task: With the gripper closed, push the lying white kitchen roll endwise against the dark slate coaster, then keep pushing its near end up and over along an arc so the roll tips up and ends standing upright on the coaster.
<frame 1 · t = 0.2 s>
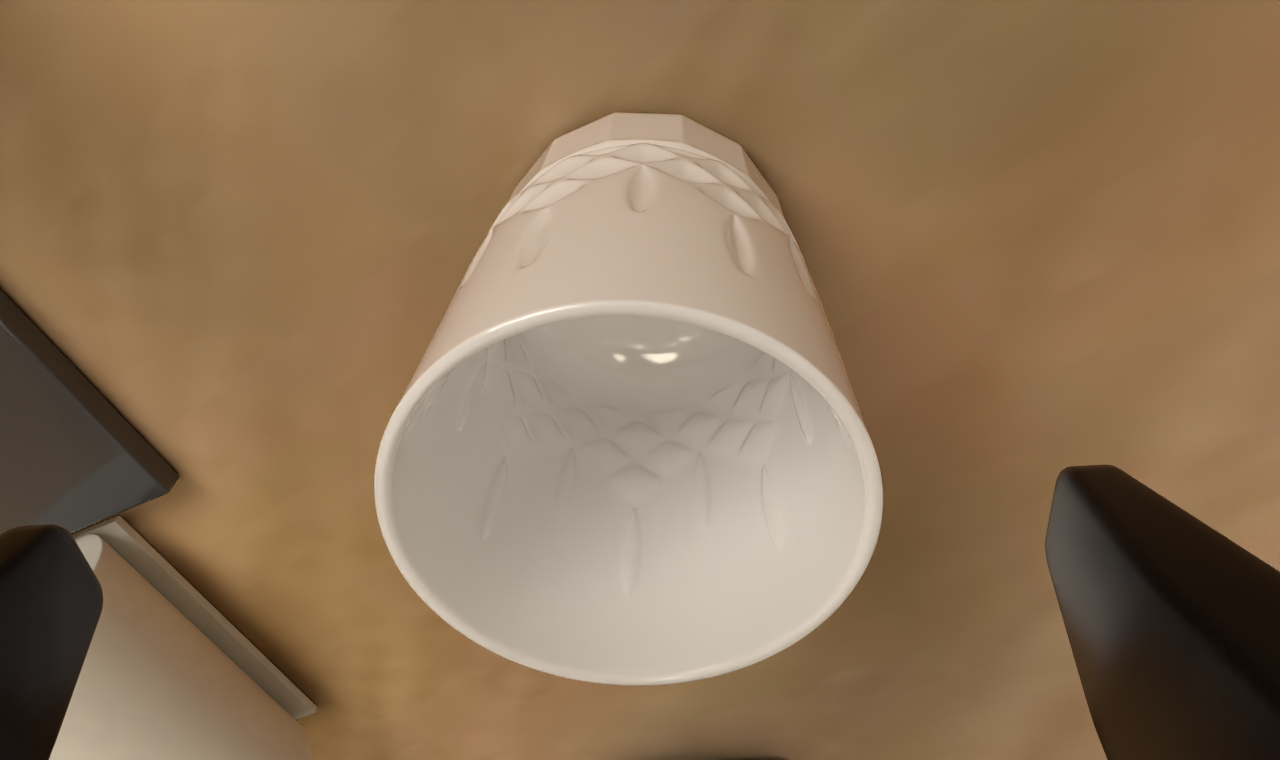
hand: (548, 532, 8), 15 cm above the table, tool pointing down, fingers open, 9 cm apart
white cup: (644, 240, 23), on the table
kitchen roll: (130, 715, 29), point 3 cm above the table
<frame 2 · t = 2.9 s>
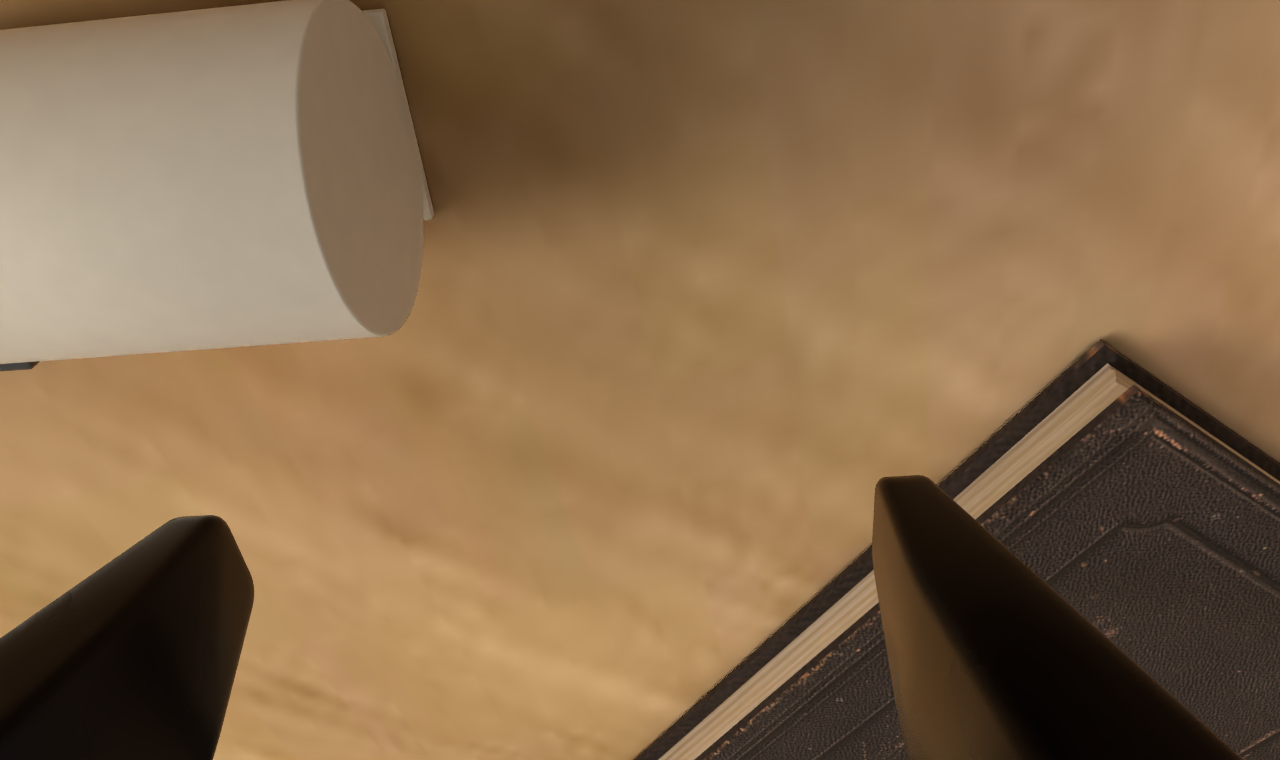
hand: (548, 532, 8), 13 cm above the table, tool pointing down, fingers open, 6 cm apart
kitchen roll: (112, 194, 17), point 3 cm above the table
hardcover book: (990, 708, 30), on the table
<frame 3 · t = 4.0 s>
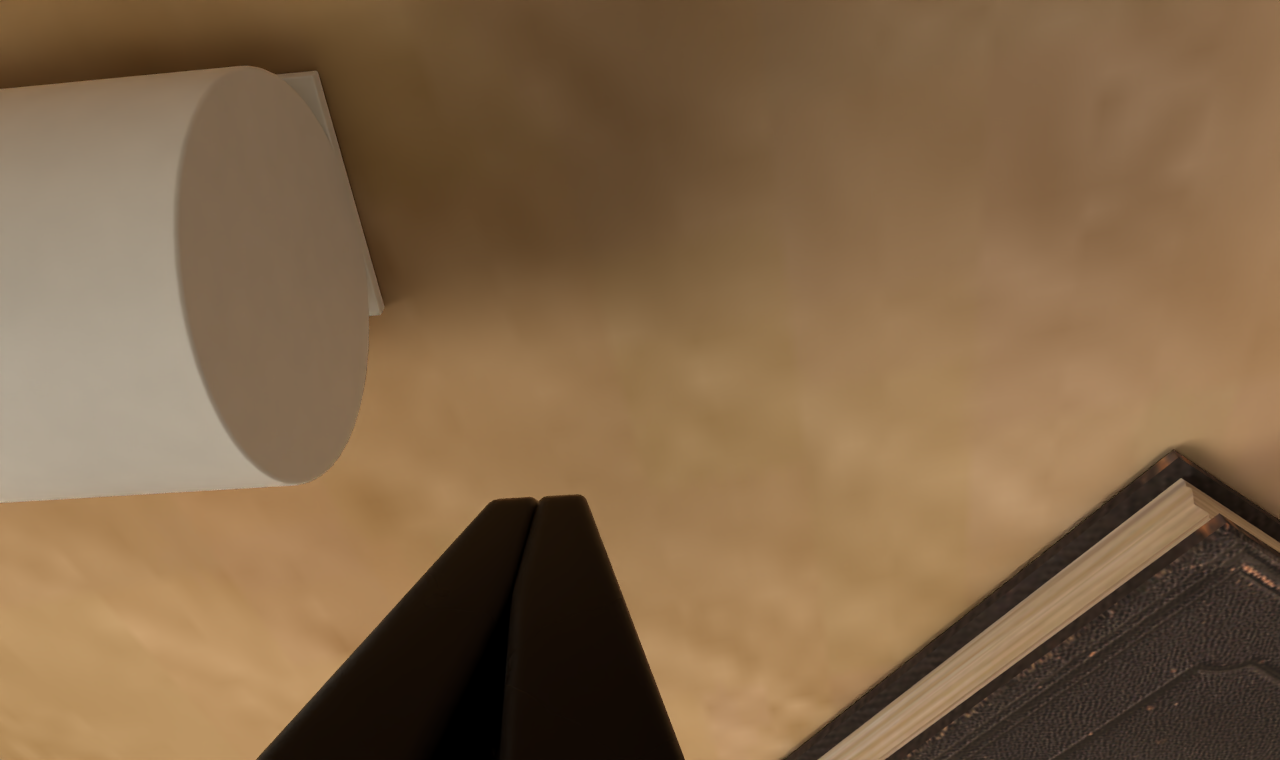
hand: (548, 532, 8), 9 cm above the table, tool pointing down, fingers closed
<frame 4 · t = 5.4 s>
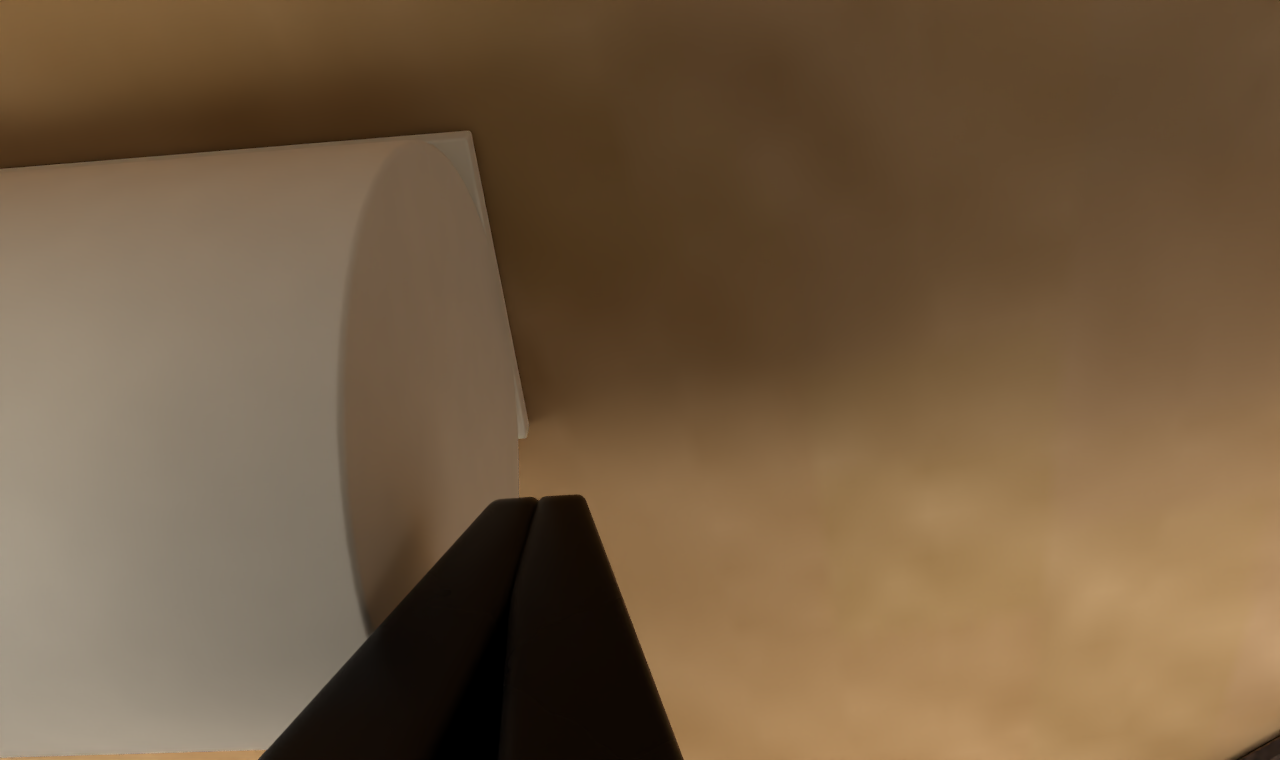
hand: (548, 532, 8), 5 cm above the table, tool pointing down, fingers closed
kitchen roll: (5, 460, 10), point 3 cm above the table, touching gripper
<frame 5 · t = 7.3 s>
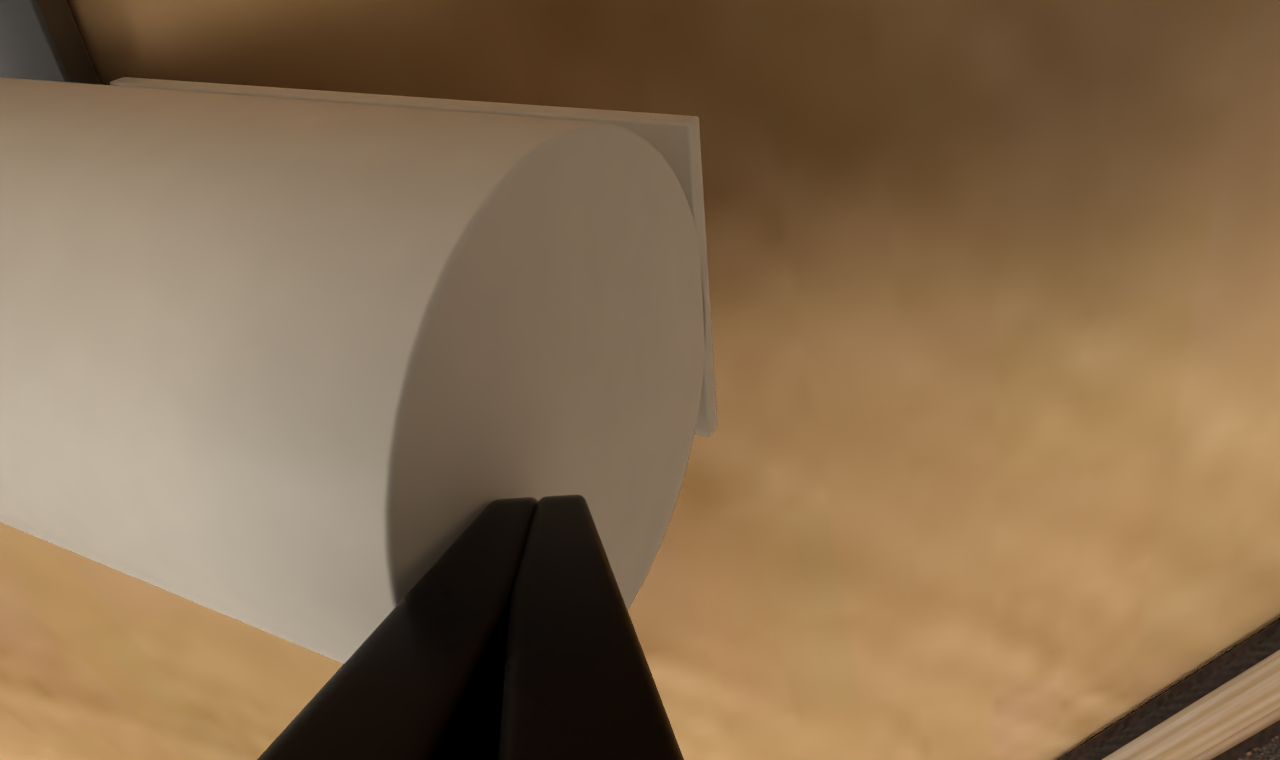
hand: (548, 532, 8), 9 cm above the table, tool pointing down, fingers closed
kitchen roll: (245, 344, 12), point 5 cm above the table, tilted 25°, touching gripper, slate coaster
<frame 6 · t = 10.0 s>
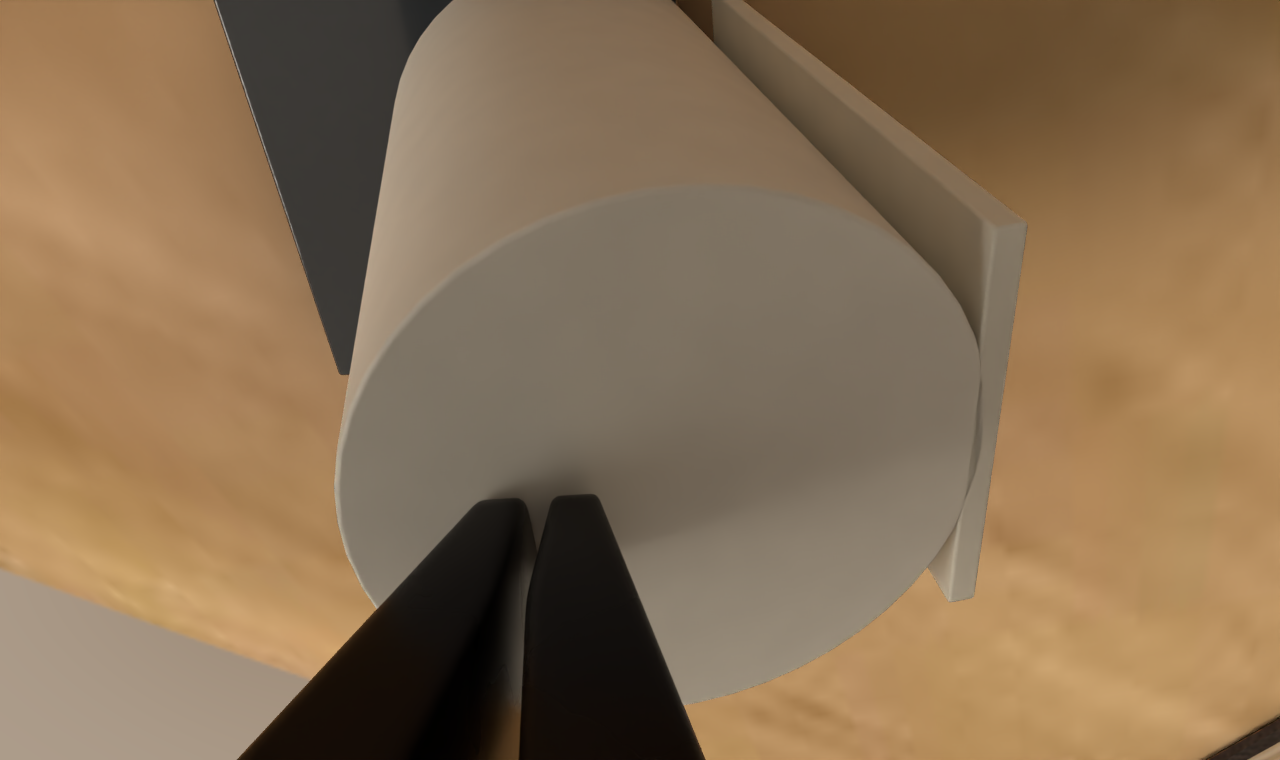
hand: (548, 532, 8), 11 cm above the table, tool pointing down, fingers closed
kitchen roll: (603, 261, 13), point 6 cm above the table, tilted 78°, touching gripper, slate coaster
slate coaster: (478, 127, 18), on the table
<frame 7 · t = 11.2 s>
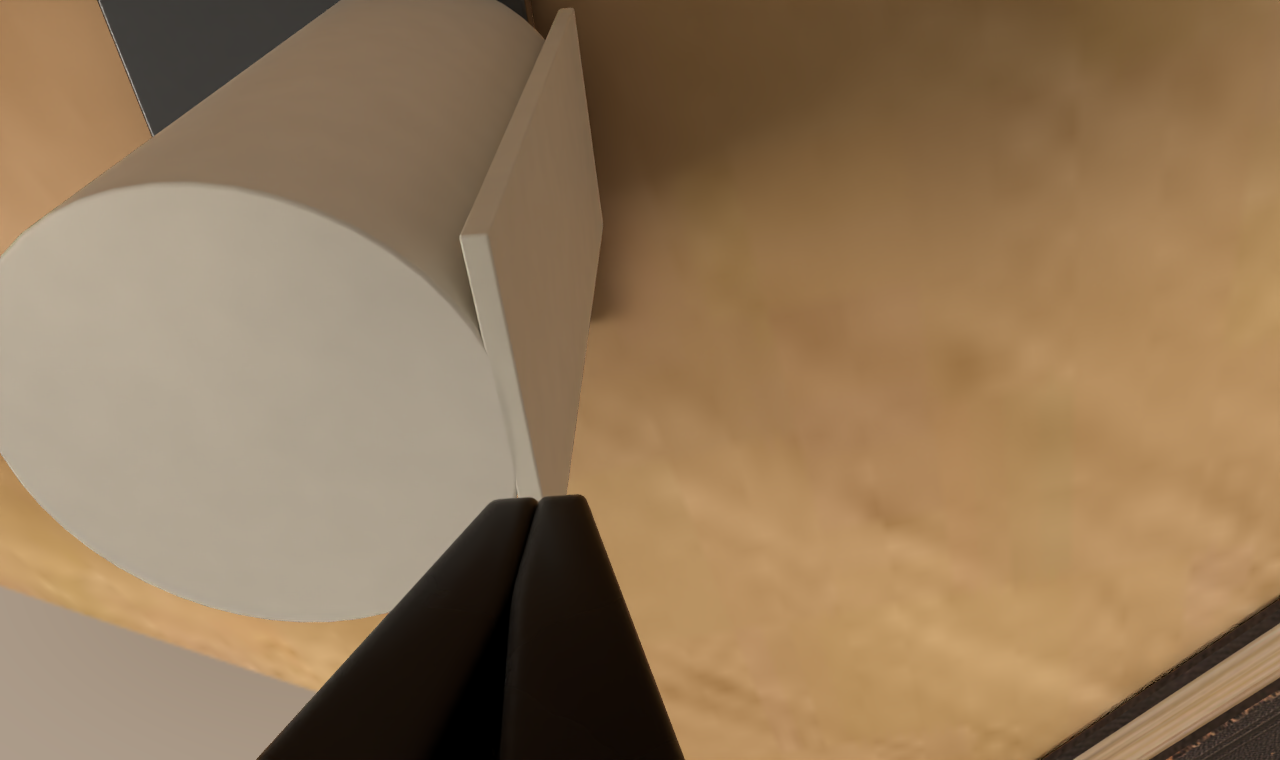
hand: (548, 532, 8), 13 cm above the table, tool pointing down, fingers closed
kitchen roll: (371, 245, 15), point 6 cm above the table, tilted 90°, touching slate coaster
slate coaster: (361, 134, 20), on the table
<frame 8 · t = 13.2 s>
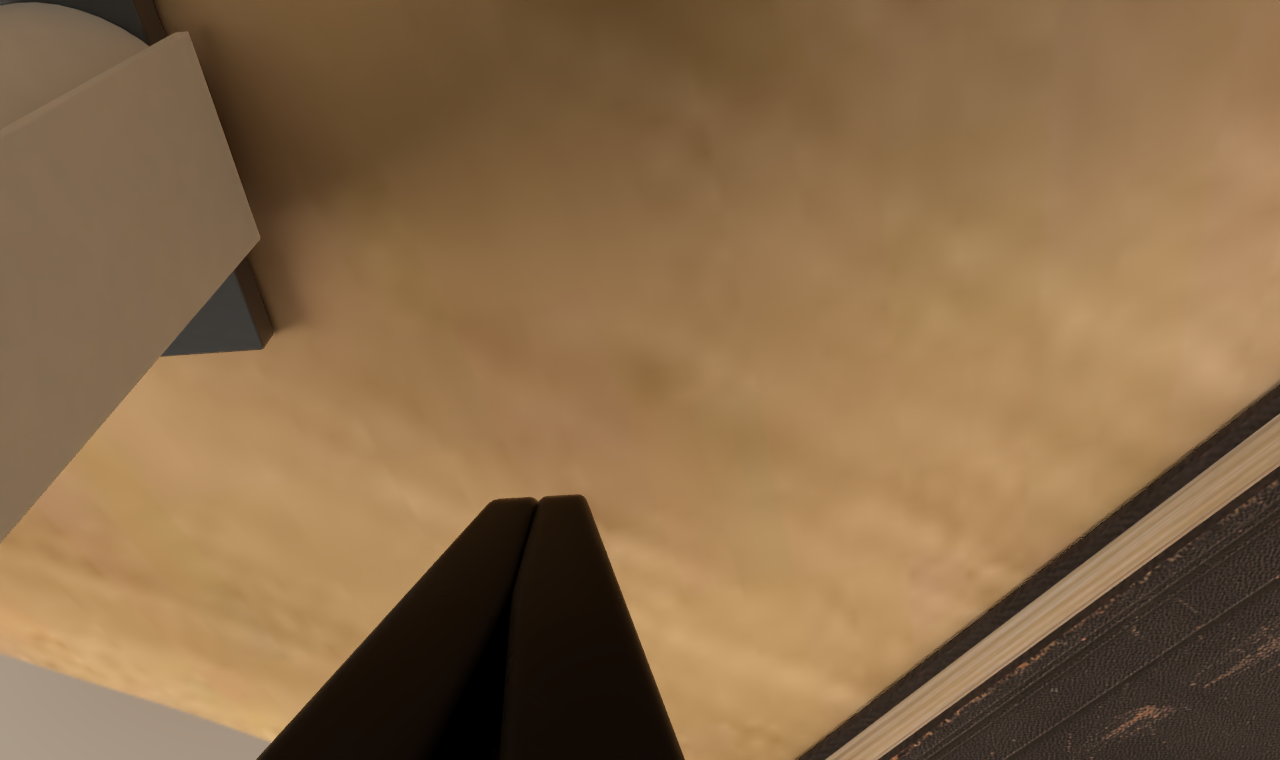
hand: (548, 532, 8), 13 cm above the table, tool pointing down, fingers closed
hardcover book: (1178, 700, 30), on the table
slate coaster: (26, 148, 20), on the table
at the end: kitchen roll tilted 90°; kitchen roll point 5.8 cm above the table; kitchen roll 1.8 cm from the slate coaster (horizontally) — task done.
